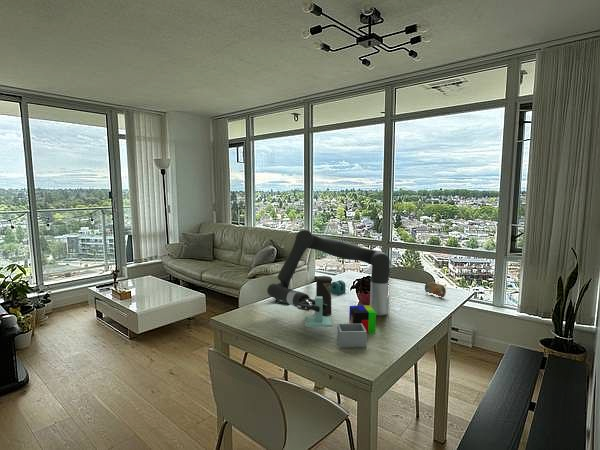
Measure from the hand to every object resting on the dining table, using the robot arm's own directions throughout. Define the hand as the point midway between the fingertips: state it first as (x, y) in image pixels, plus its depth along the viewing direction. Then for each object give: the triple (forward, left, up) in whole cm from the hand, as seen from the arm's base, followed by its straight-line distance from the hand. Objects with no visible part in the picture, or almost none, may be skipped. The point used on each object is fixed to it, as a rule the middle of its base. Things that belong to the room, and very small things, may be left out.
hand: (322, 308), depth 155 cm
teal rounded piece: (-13, -70, -13) cm, 72 cm away
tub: (-11, +9, -12) cm, 19 cm away
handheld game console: (+17, -51, -13) cm, 55 cm away
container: (-3, -28, -13) cm, 31 cm away
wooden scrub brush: (-77, -57, -13) cm, 97 cm away
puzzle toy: (-19, -6, -13) cm, 24 cm away
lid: (+2, -2, -7) cm, 8 cm away
